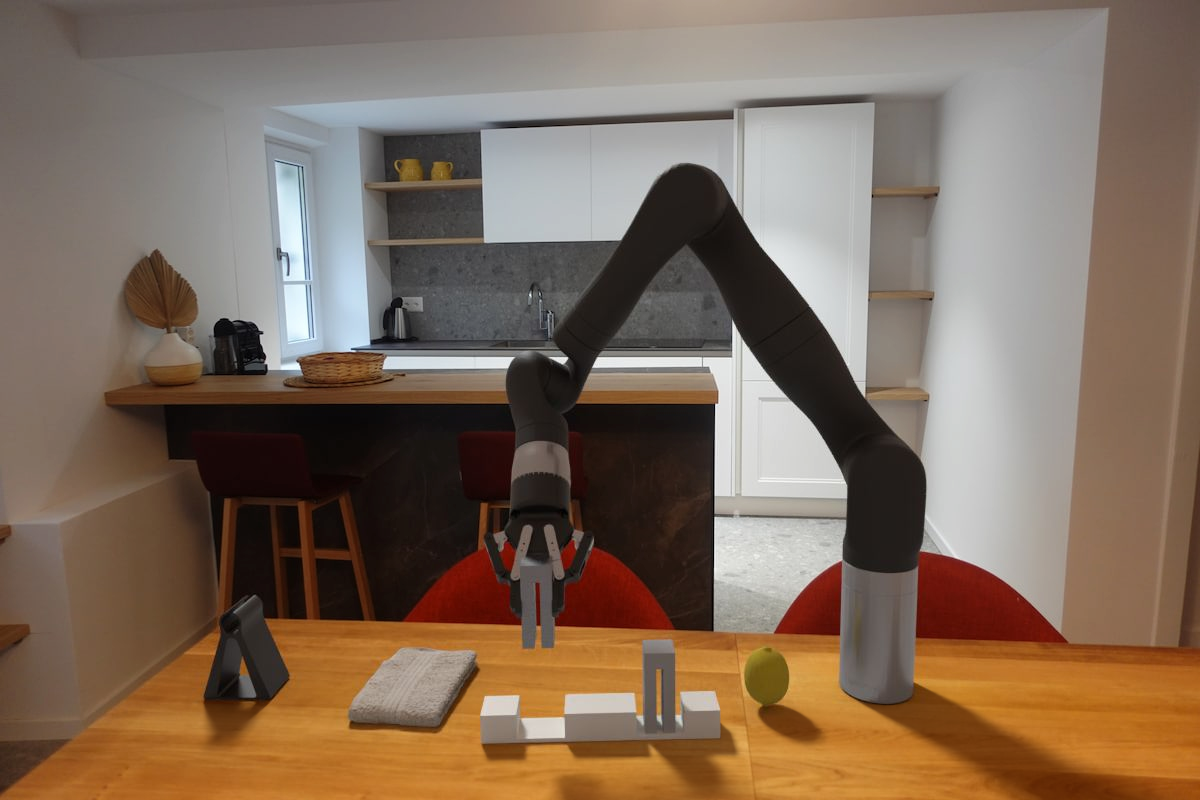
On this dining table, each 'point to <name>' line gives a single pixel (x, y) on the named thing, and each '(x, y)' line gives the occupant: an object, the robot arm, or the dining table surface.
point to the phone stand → (245, 656)
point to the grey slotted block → (531, 573)
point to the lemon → (766, 676)
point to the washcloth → (413, 687)
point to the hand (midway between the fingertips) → (537, 614)
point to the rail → (611, 711)
